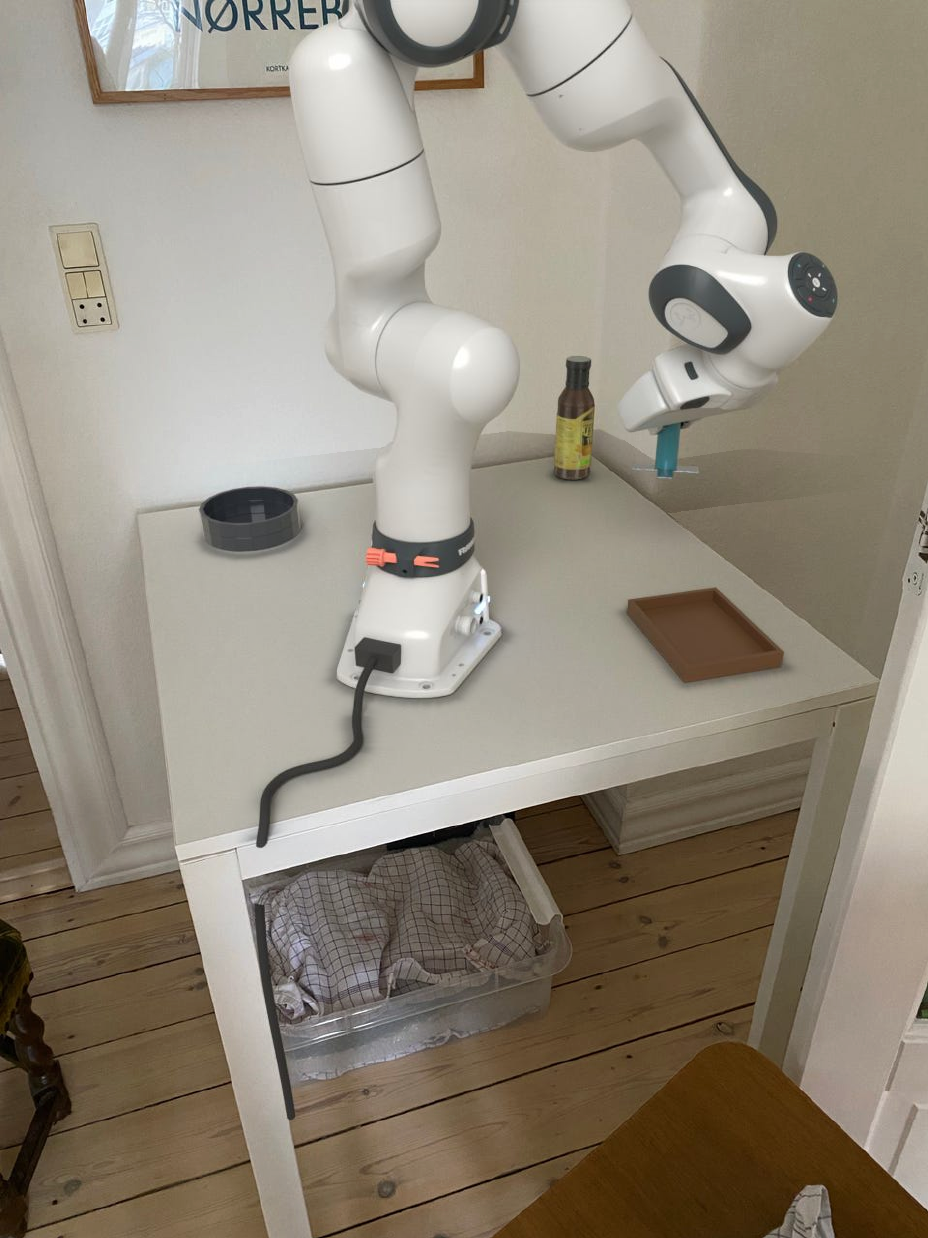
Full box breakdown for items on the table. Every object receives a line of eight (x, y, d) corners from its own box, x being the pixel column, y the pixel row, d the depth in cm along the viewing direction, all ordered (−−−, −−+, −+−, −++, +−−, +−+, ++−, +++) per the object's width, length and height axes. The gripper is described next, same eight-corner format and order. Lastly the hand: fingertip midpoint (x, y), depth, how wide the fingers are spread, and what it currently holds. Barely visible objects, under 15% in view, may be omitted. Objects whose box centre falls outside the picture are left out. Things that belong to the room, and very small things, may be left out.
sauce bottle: (586, 483, 155) (593, 364, 145) (550, 479, 156) (554, 362, 146) (593, 470, 160) (601, 354, 150) (558, 466, 162) (563, 352, 152)
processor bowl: (277, 560, 131) (273, 528, 128) (186, 550, 134) (181, 519, 131) (315, 520, 143) (312, 490, 140) (231, 512, 146) (227, 482, 143)
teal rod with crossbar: (631, 480, 118) (637, 399, 112) (634, 457, 125) (640, 380, 119) (698, 484, 116) (707, 402, 111) (698, 460, 123) (706, 382, 118)
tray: (781, 667, 106) (784, 651, 105) (684, 683, 103) (686, 667, 102) (713, 601, 119) (716, 587, 118) (626, 613, 117) (627, 599, 116)
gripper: (784, 333, 110) (720, 392, 123) (644, 356, 102) (591, 418, 115) (805, 379, 109) (738, 434, 121) (665, 406, 101) (609, 463, 114)
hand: (666, 426), depth 118 cm, fingers closed on teal rod with crossbar, 3 cm apart
